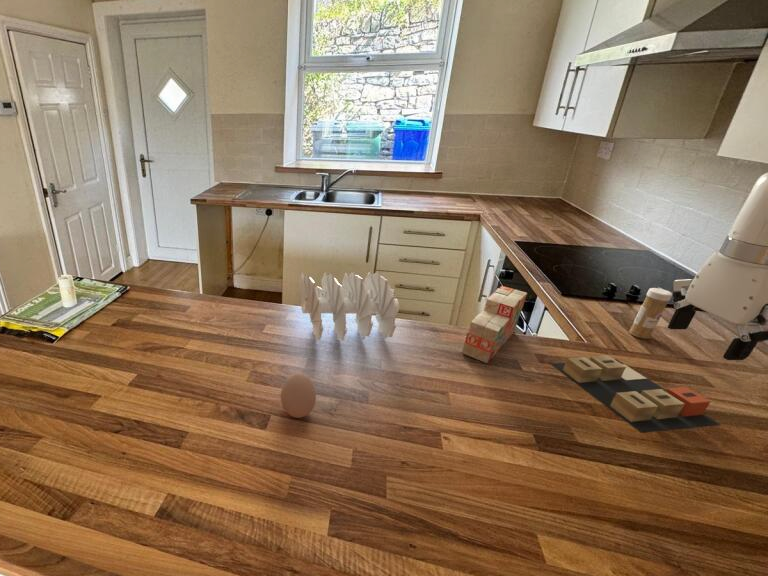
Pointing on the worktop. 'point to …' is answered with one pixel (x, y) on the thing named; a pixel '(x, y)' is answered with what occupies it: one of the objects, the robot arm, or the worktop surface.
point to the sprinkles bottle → (650, 312)
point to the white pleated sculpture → (350, 303)
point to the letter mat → (639, 383)
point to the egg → (298, 395)
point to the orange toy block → (689, 401)
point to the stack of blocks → (494, 324)
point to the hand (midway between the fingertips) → (703, 342)
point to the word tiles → (624, 402)
